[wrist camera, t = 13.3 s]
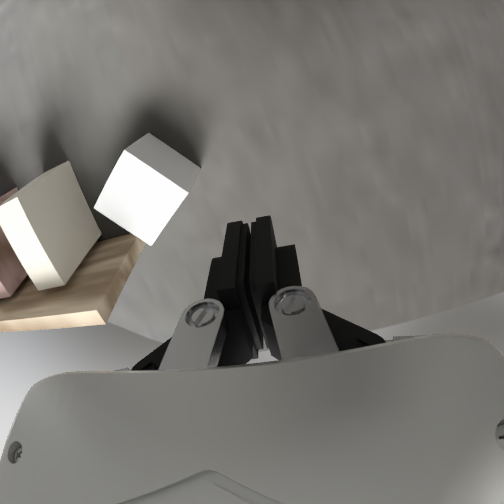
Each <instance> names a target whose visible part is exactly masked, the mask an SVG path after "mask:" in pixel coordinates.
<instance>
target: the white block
mask: <svg viewBox="0 0 504 504" xmlns="http://www.w3.org/2000/svg"><path fill="white" fill-rule="evenodd" d="M0 226H1V228H2V229H3V231H4V233H5V235H6V237H7V239H8V241H9V243H10V244H11V246H12V248H13V250H14V252H15V253H16V255H17V257H18V259H19V260H20V262H21V264H22V265H23V267H24V269H25V270H26V272H27V274H28V275H29V277H30V278H31V280H32V282H33V283H34V285H35V286H36V288H37V289H38V291H39V290H44V289H49V288H54V287H58V286H63V285H65V284H66V283H67V281H68V280H69V278H70V277H71V276H72V274H73V273H74V271H75V270H76V268H77V267H78V266H79V264H80V263H81V261H82V260H83V259H84V257H85V256H86V254H87V253H88V252H89V250H90V249H91V248H92V246H93V245H94V244H95V242H96V241H97V240H98V238H99V237H100V236H101V231H100V229H99V227H98V225H97V223H96V221H95V219H94V217H93V215H92V213H91V210H90V208H89V206H88V204H87V202H86V199H85V197H84V195H83V193H82V190H81V188H80V186H79V183H78V181H77V179H76V176H75V174H74V171H73V169H72V167H71V164H70V162H69V161H67V162H64V163H62V164H60V165H58V166H56V167H54V168H52V169H50V170H48V171H46V172H44V173H43V174H41V175H40V176H38V177H37V178H35V179H34V180H32V181H31V182H30V183H28V184H27V185H25V186H24V187H23V188H21V189H20V190H19V191H17V192H16V193H15V194H13V195H12V196H11V197H9V198H8V199H7V200H5V201H4V202H3V203H2V204H0Z"/></svg>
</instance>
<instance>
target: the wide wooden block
mask: <svg viewBox="0 0 504 504" xmlns="http://www.w3.org/2000/svg"><path fill="white" fill-rule="evenodd" d="M17 191H18V189H17V187H16V188H14V189H13V190H11V191H9V192H7V193H6V194H4V195H2V196H0V204H2V203H3V202H4V201H5V200H7V199H8V198H9V197H11V196H12V195H13V194H15V193H16V192H17ZM145 244H146V242H144V241H143V240H141V239H139V238H138V237H136V236H135V235H133V234H132V233H131V234H127V235H123V236H119V237H115V238H111V239H107V240H104V241H100V242H96V243H95V244H94V245H93V246H92V248H91V249H90V250H89V252H88V253H87V254H86V256H85V257H84V259H83V260H82V261H81V263H80V264H79V266H78V267H77V268H76V270H75V271H74V273H73V274H72V276H71V277H70V278H69V280H68V281H67V283H66V284H65V285H63V286H58V287H54V288H49V289H44V290H39V291H38V289H37V288H36V286H35V285H34V283H33V282H32V280H31V278H30V277H29V275H28V274H27V272H26V270H25V269H24V267H23V265H22V264H21V262H20V260H19V259H18V257H17V255H16V253H15V252H14V250H13V248H12V246H11V244H10V243H9V241H8V239H7V237H6V235H5V233H4V231H3V229H2V228H1V226H0V332H10V331H26V330H27V331H28V330H42V329H56V328H68V327H80V326H91V325H101V324H106V323H107V320H108V318H109V316H110V314H111V312H112V310H113V308H114V305H115V303H116V301H117V299H118V297H119V295H120V293H121V291H122V289H123V287H124V285H125V283H126V281H127V279H128V277H129V275H130V273H131V271H132V269H133V267H134V265H135V263H136V261H137V259H138V258H139V256H140V254H141V252H142V250H143V248H144V246H145Z"/></svg>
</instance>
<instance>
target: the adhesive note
mask: <svg viewBox="0 0 504 504" xmlns="http://www.w3.org/2000/svg"><path fill="white" fill-rule="evenodd" d="M200 170H201V168H200V167H198V166H197V165H195V164H194V163H193V162H191V161H190V160H188V159H187V158H185V157H184V156H182V155H181V154H180V153H178V152H177V151H175V150H174V149H172V148H171V147H169V146H168V145H166V144H165V143H163V142H162V141H160V140H159V139H157V138H156V137H154V136H153V135H151V134H150V133H147V134H146V135H144V136H143V137H141V138H140V139H139V140H137V141H136V142H134V143H133V144H131V145H130V146H129V147H127V148H126V149H124V151H123V153H122V154H121V156H120V158H119V160H118V162H117V163H116V165H115V167H114V169H113V171H112V173H111V174H110V176H109V178H108V180H107V182H106V184H105V186H104V188H103V190H102V192H101V194H100V196H99V198H98V200H97V202H96V204H95V206H94V209H96V210H97V211H99V212H100V213H102V214H103V215H105V216H106V217H108V218H109V219H111V220H112V221H114V222H115V223H117V224H118V225H120V226H121V227H123V228H124V229H126V230H127V231H129V232H130V233H132V234H133V235H135V236H136V237H138V238H139V239H141V240H143V241H144V242H146V243H147V244H149V245H150V246H152V244H153V243H154V241H155V240H156V238H157V237H158V235H159V234H160V233H161V231H162V230H163V228H164V227H165V225H166V224H167V222H168V221H169V220H170V218H171V217H172V215H173V214H174V213H175V211H176V210H177V208H178V207H179V206H180V204H181V203H182V201H183V200H184V199H185V197H186V196H187V195H188V193H189V191H190V189H191V187H192V185H193V183H194V181H195V179H196V177H197V175H198V173H199V171H200Z"/></svg>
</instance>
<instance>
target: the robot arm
mask: <svg viewBox="0 0 504 504" xmlns="http://www.w3.org/2000/svg"><path fill="white" fill-rule="evenodd" d="M263 336H264V339H265V343H266V346H267V348H269V349H270V352H271V355H272V356H273V357H275V358H276V359H278V360H279V361H271V362H262V363H254V364H246V363H247V362H248V361H250V360H251V359H256V358H258V349H263ZM0 504H504V355H503V354H502V353H501V352H500V351H499V350H498V349H497V348H496V347H495V346H494V345H493V344H492V343H490V342H489V341H487V340H484V339H482V338H479V337H475V336H470V335H462V334H433V335H423V336H398V337H393V340H384V339H383V338H382V337H380V336H379V335H377V334H375V333H373V332H371V331H368V330H366V329H364V328H362V327H360V326H358V325H355V324H353V323H351V322H349V321H347V320H345V319H342V318H340V317H338V316H336V315H334V314H332V313H330V312H327V311H325V310H323V309H321V307H320V305H319V303H318V300H317V298H316V296H315V294H314V293H313V292H312V291H311V290H310V289H308V288H306V287H302V284H301V278H300V272H299V266H298V260H297V254H296V249H295V244H294V245H288V246H282V247H277V245H276V240H275V235H274V230H273V226H272V221H271V217H270V216H264V217H259V218H256V222H252V223H251V233H250V229H249V226H248V223H246V224H243V222H242V221H237V222H231V223H228V224H227V229H226V235H225V240H224V246H223V252H222V257H217V258H213V259H212V261H211V266H210V271H209V276H208V281H207V286H206V291H205V296H204V299H201V300H199V301H196V302H194V303H192V304H191V305H189V306H188V307H187V308H186V309H185V310H184V312H183V313H182V315H181V318H180V320H179V322H178V324H177V327H176V329H175V331H174V334H173V336H172V337H171V338H170V339H169V340H167V341H166V342H165V343H163V344H162V345H161V346H159V347H158V348H157V349H156V350H154V351H153V352H151V353H150V354H149V355H148V356H146V357H145V358H144V359H142V360H141V361H140V362H138V363H137V364H136V365H135V366H134V367H133V368H132V370H129V368H125V369H120V370H115V371H77V372H66V373H61V374H57V375H53V376H50V377H48V378H45V379H42V380H40V381H39V382H37V383H36V384H34V385H33V386H32V387H31V388H30V390H29V391H28V393H27V395H26V396H25V398H24V400H23V402H22V404H21V406H20V408H19V410H18V413H17V414H16V417H15V419H14V422H13V424H12V427H11V430H10V432H9V435H8V438H7V441H6V444H5V447H4V450H3V454H2V457H1V460H0Z"/></svg>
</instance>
